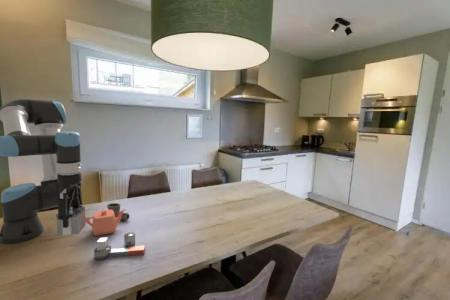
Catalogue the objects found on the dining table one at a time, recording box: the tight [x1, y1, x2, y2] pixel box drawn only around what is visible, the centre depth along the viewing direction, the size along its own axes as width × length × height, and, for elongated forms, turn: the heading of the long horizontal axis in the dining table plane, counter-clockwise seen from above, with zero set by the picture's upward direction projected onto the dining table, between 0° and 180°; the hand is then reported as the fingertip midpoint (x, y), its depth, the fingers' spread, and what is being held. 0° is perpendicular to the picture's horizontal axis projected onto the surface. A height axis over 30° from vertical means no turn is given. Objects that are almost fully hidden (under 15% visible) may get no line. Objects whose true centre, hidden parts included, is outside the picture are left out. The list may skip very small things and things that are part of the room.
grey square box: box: [55, 206, 86, 236], centre depth 87 cm, size 7×7×8 cm
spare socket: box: [123, 231, 136, 248], centre depth 98 cm, size 4×4×5 cm
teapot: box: [85, 208, 127, 237], centre depth 110 cm, size 12×18×10 cm, turn 118°
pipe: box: [106, 202, 130, 221], centre depth 123 cm, size 6×13×8 cm, turn 78°
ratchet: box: [93, 237, 146, 261], centre depth 91 cm, size 19×6×7 cm, turn 102°
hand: (72, 229), depth 88 cm, fingers closed on grey square box, 7 cm apart
